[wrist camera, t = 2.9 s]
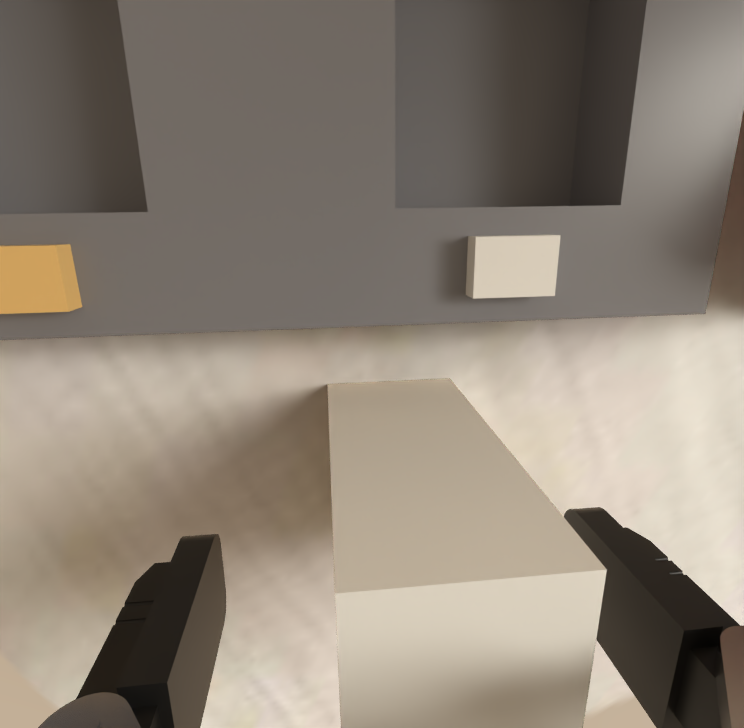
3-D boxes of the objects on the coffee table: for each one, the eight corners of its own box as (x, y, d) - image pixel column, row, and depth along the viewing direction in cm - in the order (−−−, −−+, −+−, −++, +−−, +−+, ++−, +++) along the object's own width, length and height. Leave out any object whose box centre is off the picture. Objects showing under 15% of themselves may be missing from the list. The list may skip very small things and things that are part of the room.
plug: (449, 378, 16) (607, 569, 7) (444, 548, 17) (562, 862, 9) (327, 384, 15) (334, 594, 7) (335, 557, 17) (348, 894, 8)
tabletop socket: (702, -181, 12) (855, -344, 8) (634, 297, 15) (723, 318, 12) (-280, -246, 10) (-600, -494, 6) (-105, 321, 13) (-252, 355, 10)
